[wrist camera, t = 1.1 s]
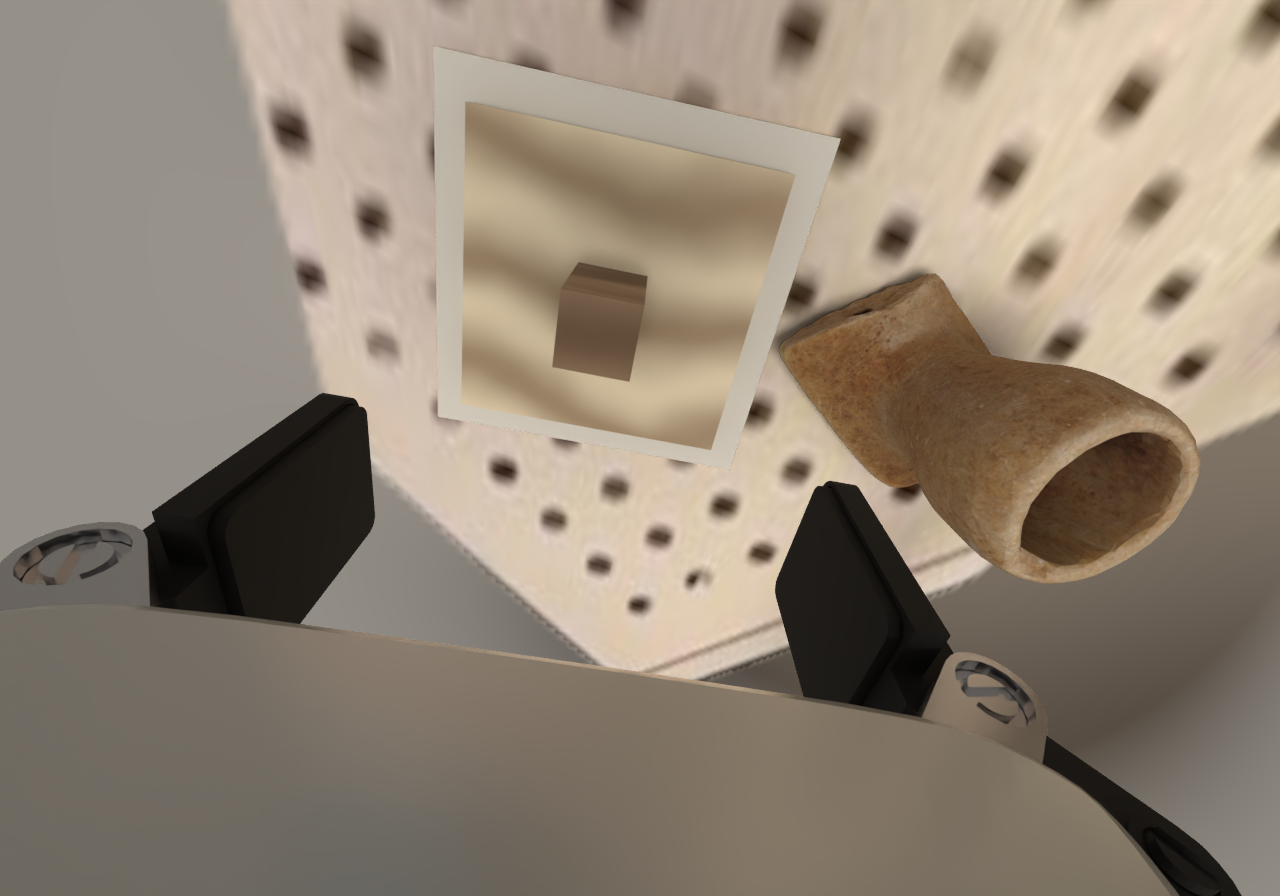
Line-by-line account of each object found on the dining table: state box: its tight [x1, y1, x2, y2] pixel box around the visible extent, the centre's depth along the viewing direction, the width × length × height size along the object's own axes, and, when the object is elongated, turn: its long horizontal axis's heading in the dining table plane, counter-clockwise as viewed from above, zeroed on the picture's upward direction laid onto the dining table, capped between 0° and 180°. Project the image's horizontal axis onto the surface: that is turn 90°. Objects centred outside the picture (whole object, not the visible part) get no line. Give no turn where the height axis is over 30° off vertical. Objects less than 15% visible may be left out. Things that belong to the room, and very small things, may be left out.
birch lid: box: [461, 101, 795, 450], centre depth 29 cm, size 17×17×7 cm
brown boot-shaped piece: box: [779, 274, 1201, 584], centre depth 28 cm, size 15×12×15 cm
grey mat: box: [433, 46, 841, 470], centre depth 32 cm, size 21×21×1 cm
